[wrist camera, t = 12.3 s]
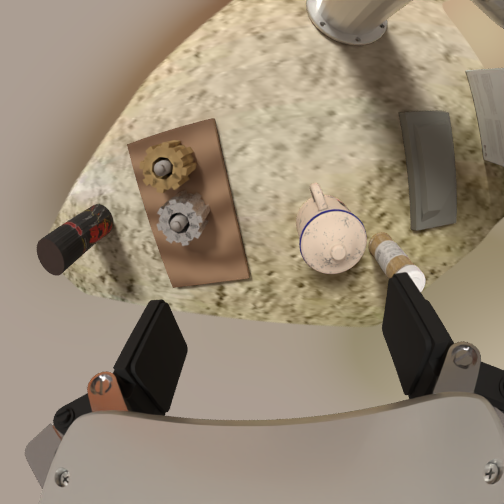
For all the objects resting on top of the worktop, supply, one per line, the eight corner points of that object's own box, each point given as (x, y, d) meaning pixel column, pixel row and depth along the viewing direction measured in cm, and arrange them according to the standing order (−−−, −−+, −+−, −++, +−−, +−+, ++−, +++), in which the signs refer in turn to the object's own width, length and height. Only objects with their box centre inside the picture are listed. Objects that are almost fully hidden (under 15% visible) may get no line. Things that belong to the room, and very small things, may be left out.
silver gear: (163, 195, 40) (150, 205, 36) (204, 186, 39) (195, 194, 35) (174, 235, 43) (164, 248, 39) (214, 228, 42) (208, 241, 38)
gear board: (131, 143, 38) (105, 149, 31) (214, 118, 36) (201, 117, 29) (175, 283, 49) (161, 308, 42) (249, 273, 47) (246, 300, 40)
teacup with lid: (355, 236, 43) (379, 273, 32) (304, 253, 45) (313, 294, 34) (336, 167, 38) (360, 184, 28) (280, 185, 40) (283, 209, 30)
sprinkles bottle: (385, 257, 44) (416, 303, 32) (363, 252, 44) (391, 298, 32) (395, 234, 42) (431, 275, 30) (373, 228, 42) (406, 268, 30)
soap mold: (408, 228, 42) (417, 236, 39) (396, 112, 34) (406, 112, 30) (452, 218, 40) (462, 225, 37) (444, 110, 32) (456, 111, 29)
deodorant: (94, 197, 42) (40, 230, 29) (117, 217, 44) (68, 256, 30) (83, 221, 45) (34, 258, 31) (105, 240, 46) (59, 282, 33)
